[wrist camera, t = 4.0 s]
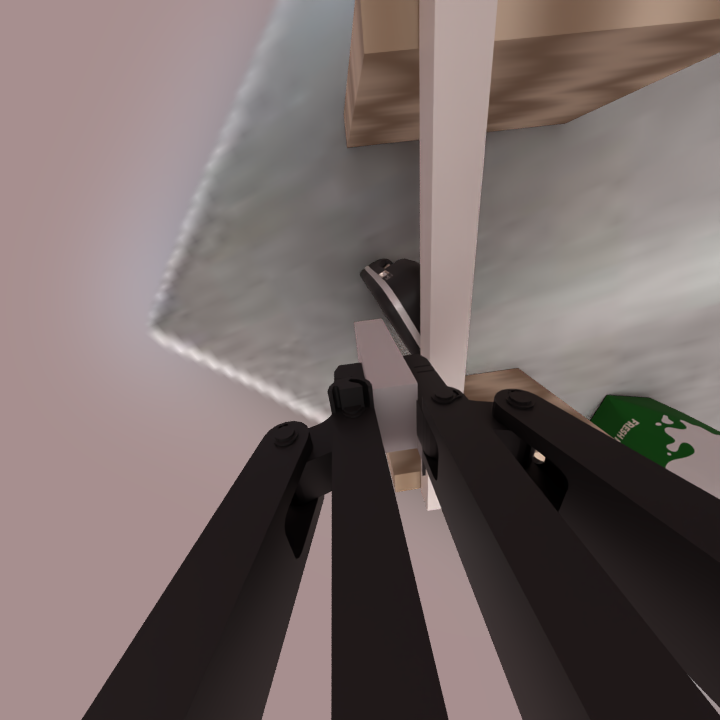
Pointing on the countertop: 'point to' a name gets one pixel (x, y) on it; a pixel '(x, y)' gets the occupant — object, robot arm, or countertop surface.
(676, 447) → the milk carton
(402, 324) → the battery charger
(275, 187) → the countertop surface
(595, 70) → the wooden stand
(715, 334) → the countertop surface
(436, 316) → the pale pink long bar
